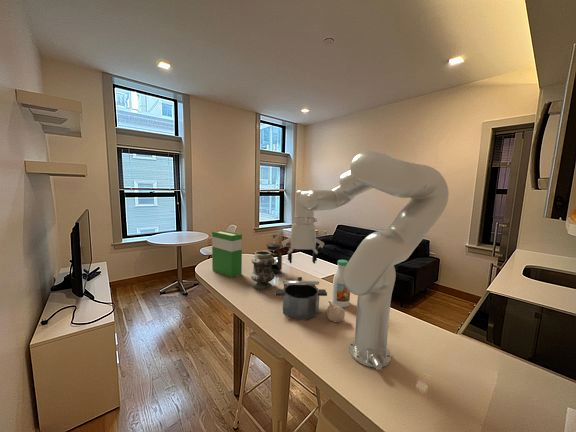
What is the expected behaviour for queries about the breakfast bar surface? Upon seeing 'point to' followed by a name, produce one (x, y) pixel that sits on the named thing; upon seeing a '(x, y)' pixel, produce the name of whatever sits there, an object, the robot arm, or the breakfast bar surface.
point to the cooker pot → (300, 301)
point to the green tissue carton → (227, 253)
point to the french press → (277, 263)
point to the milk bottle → (340, 286)
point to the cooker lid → (300, 282)
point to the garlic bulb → (335, 313)
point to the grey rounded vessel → (262, 270)
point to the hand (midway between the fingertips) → (302, 262)
